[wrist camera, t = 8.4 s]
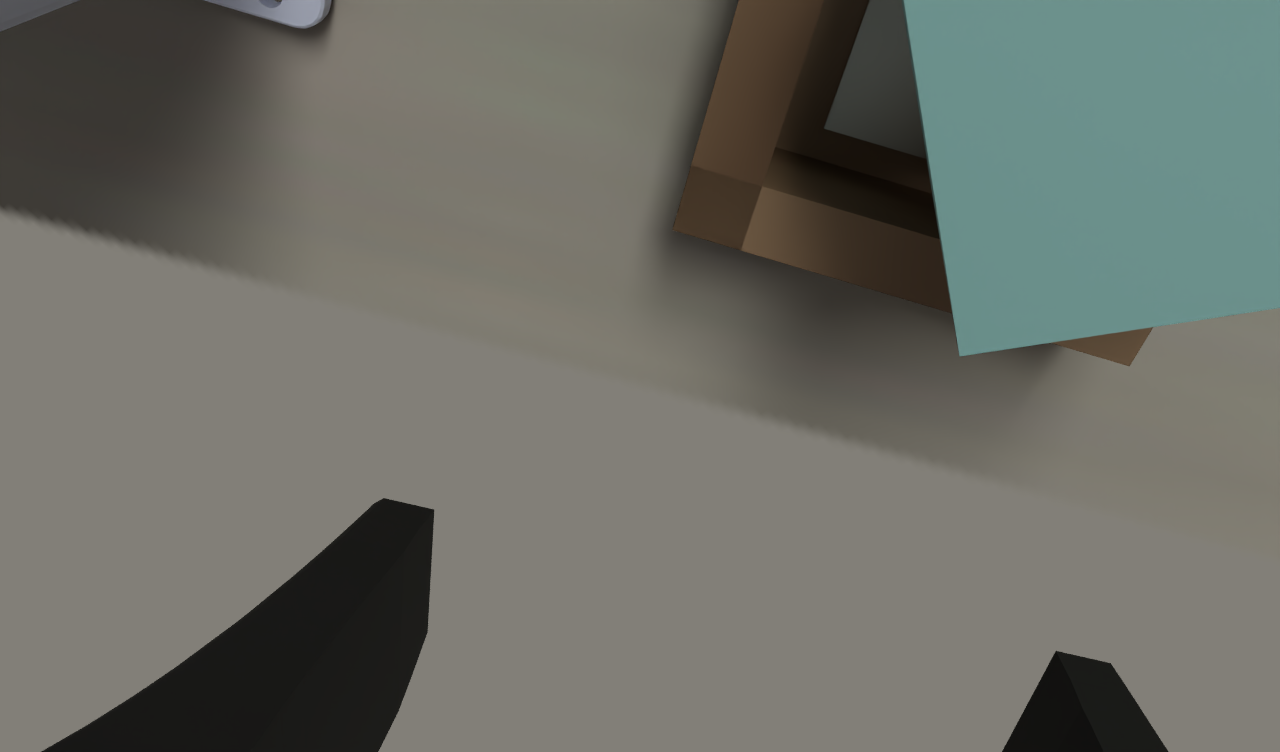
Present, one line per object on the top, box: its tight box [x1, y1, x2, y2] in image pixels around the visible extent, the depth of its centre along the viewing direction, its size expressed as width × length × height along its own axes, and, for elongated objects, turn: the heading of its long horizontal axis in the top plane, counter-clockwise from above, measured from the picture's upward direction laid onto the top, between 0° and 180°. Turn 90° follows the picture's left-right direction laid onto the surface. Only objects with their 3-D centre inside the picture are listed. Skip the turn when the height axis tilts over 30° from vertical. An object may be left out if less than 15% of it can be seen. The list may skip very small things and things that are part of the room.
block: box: [902, 0, 1280, 356], centre depth 14 cm, size 5×5×6 cm
